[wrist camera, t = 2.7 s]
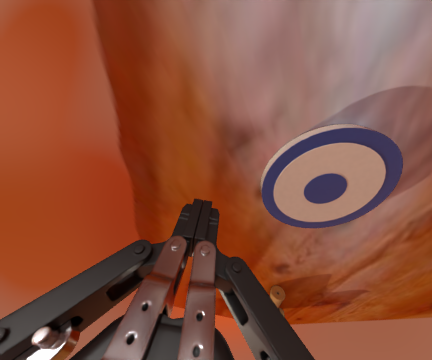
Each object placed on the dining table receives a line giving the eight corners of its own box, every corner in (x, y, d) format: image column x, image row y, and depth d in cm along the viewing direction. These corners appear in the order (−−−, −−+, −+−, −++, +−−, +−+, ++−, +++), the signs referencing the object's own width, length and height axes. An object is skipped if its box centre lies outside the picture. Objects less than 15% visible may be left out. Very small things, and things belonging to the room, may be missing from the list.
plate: (430, 137, 15) (446, 142, 14) (341, 228, 23) (347, 236, 22) (285, 112, 15) (289, 115, 14) (248, 211, 23) (248, 218, 22)
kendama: (255, 277, 37) (246, 314, 45) (264, 308, 31) (252, 345, 39) (286, 275, 37) (272, 312, 46) (301, 305, 32) (282, 342, 40)
